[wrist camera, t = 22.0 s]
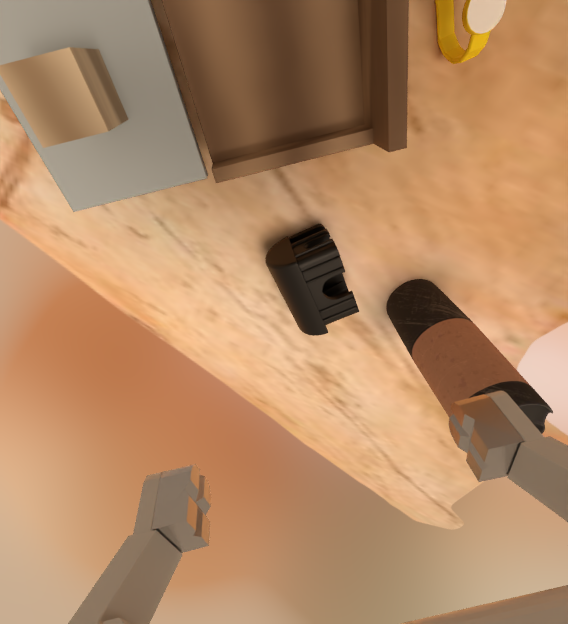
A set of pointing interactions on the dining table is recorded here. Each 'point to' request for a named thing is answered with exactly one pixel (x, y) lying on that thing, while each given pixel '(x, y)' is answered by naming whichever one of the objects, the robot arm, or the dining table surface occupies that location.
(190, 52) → the tray
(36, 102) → the beech block
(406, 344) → the travel mug
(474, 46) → the watch
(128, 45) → the tailgate
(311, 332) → the end cap
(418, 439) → the dining table surface
